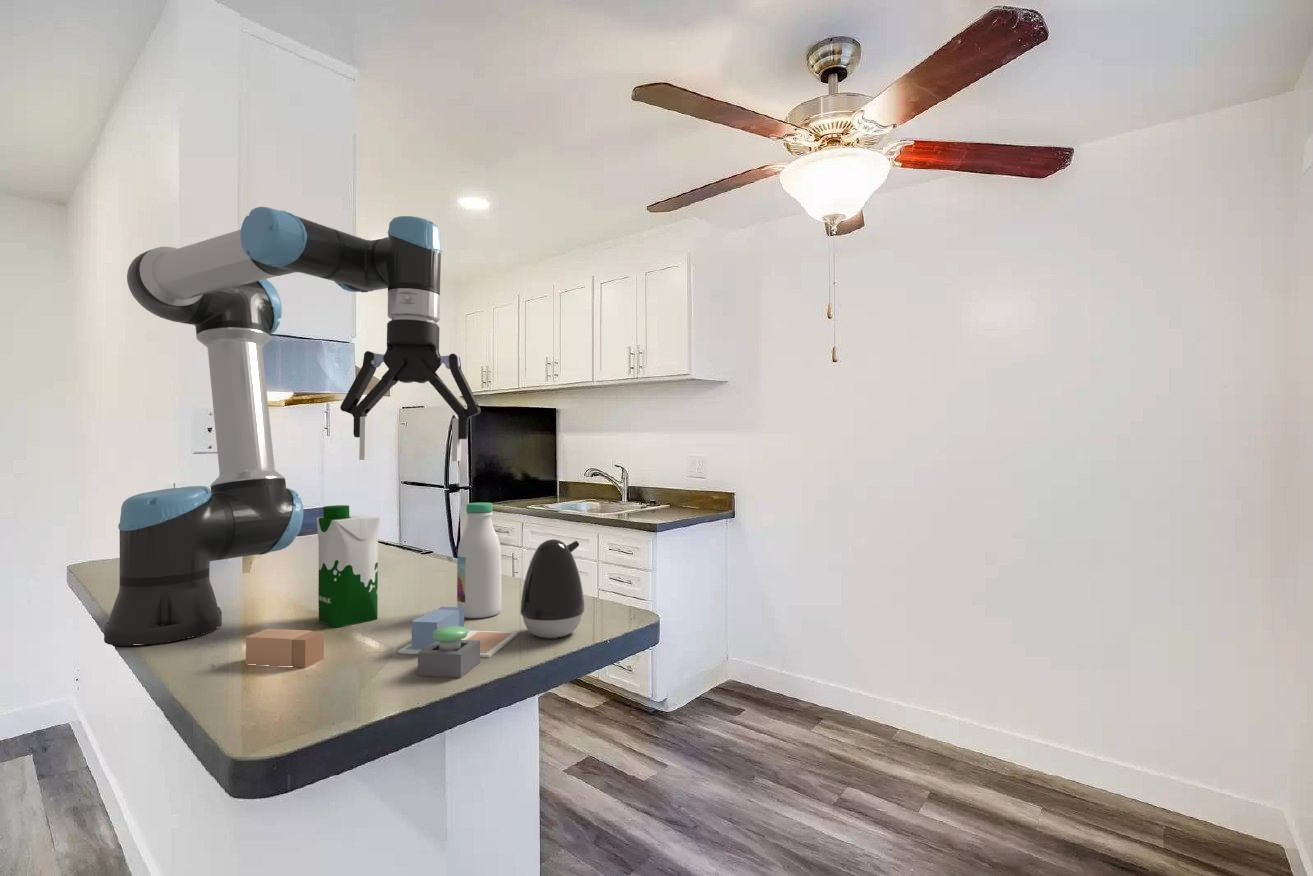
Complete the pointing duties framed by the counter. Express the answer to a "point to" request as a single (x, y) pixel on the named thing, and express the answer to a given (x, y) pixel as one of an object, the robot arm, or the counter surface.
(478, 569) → the milk bottle
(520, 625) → the counter surface
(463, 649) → the button housing
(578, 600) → the pump dispenser
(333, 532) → the milk carton
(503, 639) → the picture board
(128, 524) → the robot arm
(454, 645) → the button
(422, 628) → the block
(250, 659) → the block
